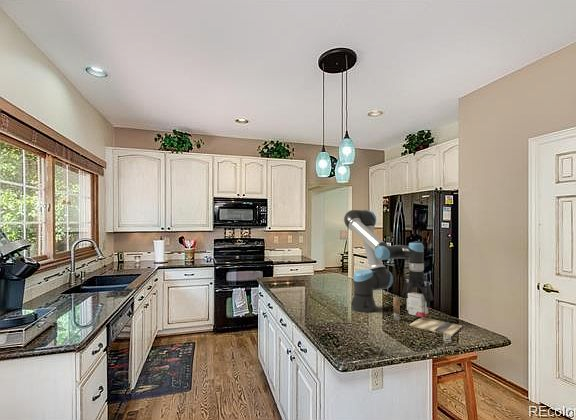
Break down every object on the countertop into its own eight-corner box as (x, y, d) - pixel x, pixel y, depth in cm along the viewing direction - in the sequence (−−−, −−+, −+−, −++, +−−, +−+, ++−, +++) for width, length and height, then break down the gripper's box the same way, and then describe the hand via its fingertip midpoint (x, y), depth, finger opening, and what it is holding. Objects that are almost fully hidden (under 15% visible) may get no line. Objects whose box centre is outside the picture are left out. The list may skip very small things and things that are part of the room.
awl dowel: (392, 319, 166) (392, 297, 166) (395, 318, 168) (394, 296, 169) (398, 321, 164) (398, 298, 164) (400, 319, 166) (400, 297, 166)
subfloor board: (409, 325, 156) (409, 324, 156) (422, 318, 169) (422, 316, 169) (452, 336, 142) (451, 334, 142) (462, 327, 155) (462, 325, 155)
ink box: (427, 316, 165) (427, 294, 166) (422, 317, 162) (421, 295, 163) (413, 312, 172) (412, 291, 173) (407, 313, 170) (407, 292, 170)
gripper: (394, 269, 173) (395, 308, 172) (434, 273, 158) (435, 317, 157) (400, 267, 179) (401, 306, 178) (439, 271, 163) (440, 314, 162)
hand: (417, 311), depth 167 cm, fingers closed on ink box, 9 cm apart
